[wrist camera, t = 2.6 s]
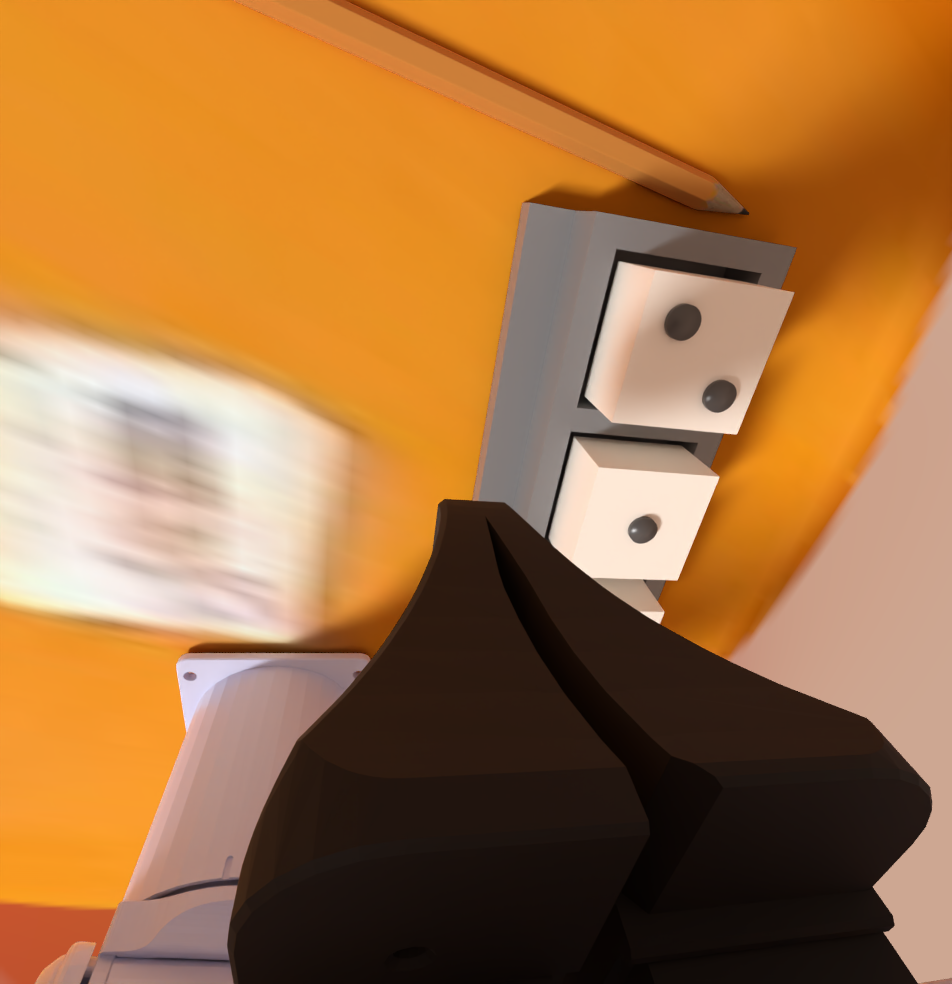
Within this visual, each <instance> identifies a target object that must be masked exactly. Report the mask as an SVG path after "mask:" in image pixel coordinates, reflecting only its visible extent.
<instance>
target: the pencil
mask: <svg viewBox="0 0 952 984" xmlns="http://www.w3.org/2000/svg"><path fill="white" fill-rule="evenodd" d="M233 1H235V2H238V3H240V4H242V5H244V6H246V7H249V8H251V9H253V10H255V11H257V12H260V13H262V14H264V15H266V16H269V17H271V18H273V19H275V20H277V21H280V22H282V23H284V24H286V25H288V26H291V27H293V28H295V29H297V30H299V31H302V32H304V33H306V34H308V35H311V36H313V37H315V38H317V39H319V40H322V41H324V42H326V43H328V44H330V45H333V46H335V47H337V48H339V49H341V50H344V51H346V52H348V53H350V54H353V55H355V56H357V57H359V58H361V59H364V60H366V61H368V62H370V63H372V64H375V65H377V66H379V67H381V68H383V69H386V70H388V71H390V72H392V73H395V74H397V75H399V76H401V77H403V78H406V79H408V80H410V81H412V82H414V83H417V84H419V85H421V86H423V87H425V88H428V89H430V90H432V91H434V92H437V93H439V94H441V95H443V96H445V97H448V98H450V99H452V100H454V101H456V102H459V103H461V104H463V105H465V106H467V107H470V108H472V109H474V110H476V111H479V112H481V113H483V114H485V115H487V116H490V117H492V118H494V119H496V120H498V121H501V122H503V123H505V124H507V125H509V126H512V127H514V128H516V129H518V130H521V131H523V132H525V133H527V134H529V135H532V136H534V137H536V138H538V139H540V140H543V141H545V142H547V143H549V144H551V145H554V146H556V147H558V148H560V149H563V150H565V151H567V152H569V153H571V154H574V155H576V156H578V157H580V158H582V159H585V160H587V161H589V162H591V163H594V164H596V165H598V166H600V167H602V168H605V169H607V170H609V171H611V172H613V173H616V174H618V175H620V176H622V177H624V178H627V179H629V180H631V181H633V182H636V183H638V184H640V185H642V186H644V187H647V188H649V189H651V190H653V191H655V192H658V193H660V194H662V195H664V196H666V197H669V198H671V199H673V200H675V201H678V202H680V203H682V204H684V205H686V206H689V207H691V208H693V209H695V210H705V211H715V212H725V213H734V214H744V215H749V212H748V211H747V210H746V209H745V208H744V207H743V206H742V205H741V204H740V203H739V202H738V201H737V200H736V199H735V198H734V197H733V196H732V195H731V194H730V193H729V192H728V191H727V190H726V189H725V188H724V187H723V186H722V185H721V184H720V183H719V182H718V181H717V180H716V179H715V178H714V177H712V176H711V175H709V174H707V173H705V172H702V171H700V170H698V169H696V168H694V167H692V166H690V165H688V164H686V163H684V162H682V161H679V160H677V159H675V158H673V157H671V156H669V155H667V154H665V153H663V152H661V151H659V150H657V149H654V148H652V147H650V146H648V145H646V144H644V143H642V142H640V141H638V140H636V139H634V138H632V137H629V136H627V135H625V134H623V133H621V132H619V131H617V130H615V129H613V128H611V127H609V126H607V125H604V124H602V123H600V122H598V121H596V120H594V119H592V118H590V117H588V116H586V115H584V114H581V113H579V112H577V111H575V110H573V109H571V108H569V107H567V106H565V105H563V104H561V103H559V102H556V101H554V100H552V99H550V98H548V97H546V96H544V95H542V94H540V93H538V92H536V91H534V90H531V89H529V88H527V87H525V86H523V85H521V84H519V83H517V82H515V81H513V80H511V79H508V78H506V77H504V76H502V75H500V74H498V73H496V72H494V71H492V70H490V69H488V68H486V67H483V66H481V65H479V64H477V63H475V62H473V61H471V60H469V59H467V58H465V57H463V56H461V55H458V54H456V53H454V52H452V51H450V50H448V49H446V48H444V47H442V46H440V45H438V44H436V43H433V42H431V41H429V40H427V39H425V38H423V37H421V36H419V35H417V34H415V33H413V32H410V31H408V30H406V29H404V28H402V27H400V26H398V25H396V24H394V23H392V22H390V21H388V20H385V19H383V18H381V17H379V16H377V15H375V14H373V13H371V12H369V11H367V10H365V9H363V8H360V7H358V6H356V5H354V4H352V3H350V2H348V1H346V0H233Z"/></svg>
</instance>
